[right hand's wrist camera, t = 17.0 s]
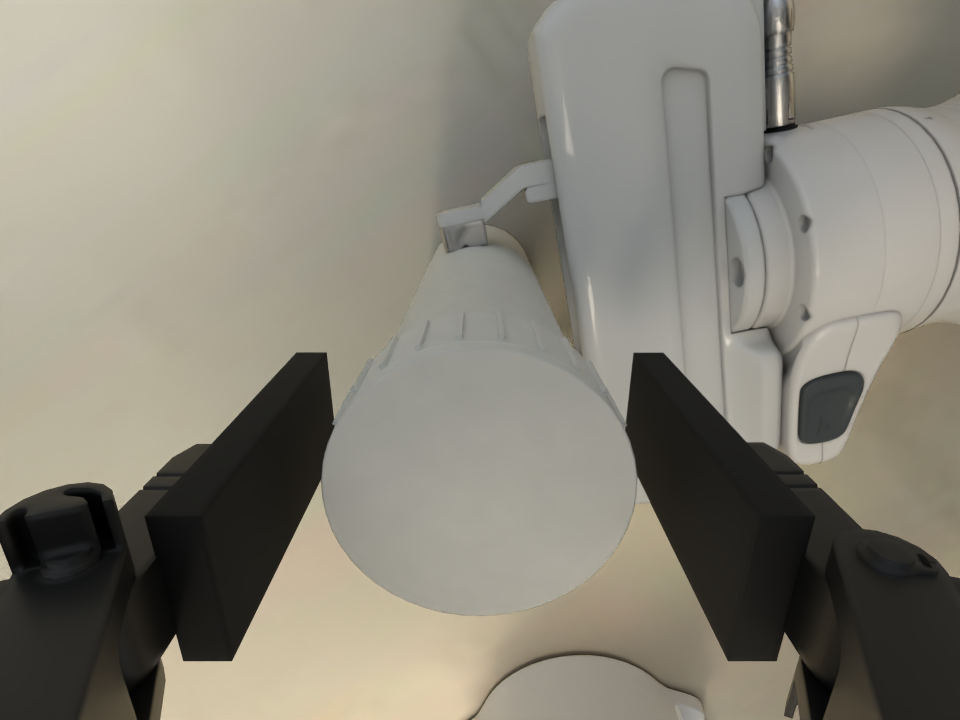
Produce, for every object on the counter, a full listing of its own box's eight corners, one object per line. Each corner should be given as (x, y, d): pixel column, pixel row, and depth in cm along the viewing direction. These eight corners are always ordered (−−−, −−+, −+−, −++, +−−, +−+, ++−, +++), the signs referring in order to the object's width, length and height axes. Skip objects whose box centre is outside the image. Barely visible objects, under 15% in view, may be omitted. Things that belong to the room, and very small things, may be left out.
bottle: (542, 238, 28) (651, 386, 10) (514, 333, 29) (566, 599, 12) (441, 213, 27) (370, 319, 9) (420, 310, 29) (327, 553, 11)
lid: (395, 263, 11) (374, 289, 9) (663, 368, 11) (703, 415, 9) (313, 500, 13) (280, 567, 11) (546, 575, 13) (558, 652, 11)
